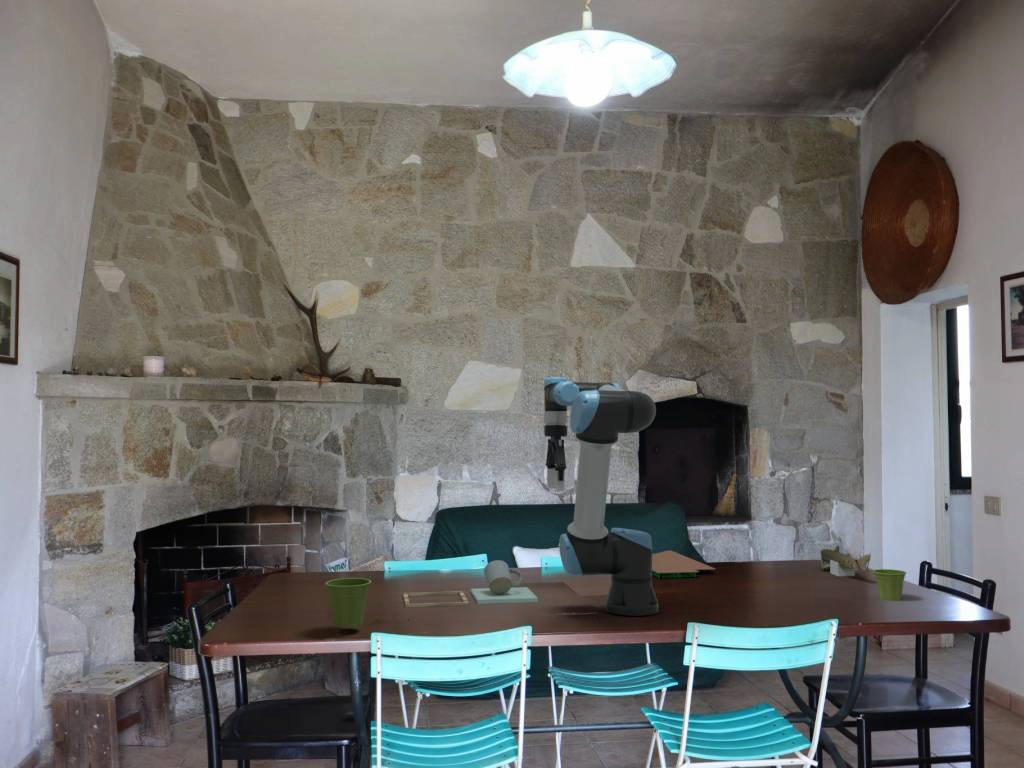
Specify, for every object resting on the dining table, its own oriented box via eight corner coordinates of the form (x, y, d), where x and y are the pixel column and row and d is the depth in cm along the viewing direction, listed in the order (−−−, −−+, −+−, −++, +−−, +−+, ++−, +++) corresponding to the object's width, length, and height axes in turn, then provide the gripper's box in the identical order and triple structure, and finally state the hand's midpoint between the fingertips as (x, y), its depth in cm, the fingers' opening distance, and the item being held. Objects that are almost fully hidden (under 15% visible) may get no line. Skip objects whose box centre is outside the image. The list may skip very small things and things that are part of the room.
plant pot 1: (330, 619, 237) (331, 577, 237) (374, 620, 236) (375, 578, 237) (319, 629, 225) (320, 585, 226) (365, 630, 225) (366, 585, 225)
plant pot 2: (874, 601, 265) (873, 572, 265) (872, 596, 274) (872, 568, 274) (908, 604, 262) (907, 574, 262) (905, 598, 271) (905, 570, 271)
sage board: (537, 602, 262) (537, 598, 262) (477, 603, 259) (477, 599, 259) (527, 591, 280) (527, 587, 280) (470, 592, 277) (470, 588, 277)
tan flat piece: (684, 566, 336) (684, 544, 336) (721, 580, 304) (721, 556, 304) (627, 567, 332) (627, 545, 332) (658, 582, 299) (658, 558, 300)
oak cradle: (469, 605, 257) (469, 602, 257) (405, 607, 254) (405, 604, 254) (462, 593, 275) (462, 591, 275) (403, 595, 272) (403, 592, 272)
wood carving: (856, 589, 286) (856, 554, 287) (811, 571, 321) (811, 540, 322) (883, 588, 287) (882, 554, 288) (835, 571, 322) (835, 540, 322)
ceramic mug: (493, 599, 267) (486, 582, 263) (488, 581, 274) (480, 564, 270) (526, 587, 268) (519, 569, 264) (520, 569, 275) (513, 552, 271)
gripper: (575, 424, 276) (575, 492, 275) (559, 424, 301) (558, 487, 300) (552, 424, 275) (552, 492, 274) (537, 424, 300) (537, 487, 299)
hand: (555, 489), depth 287 cm, fingers open, 13 cm apart
